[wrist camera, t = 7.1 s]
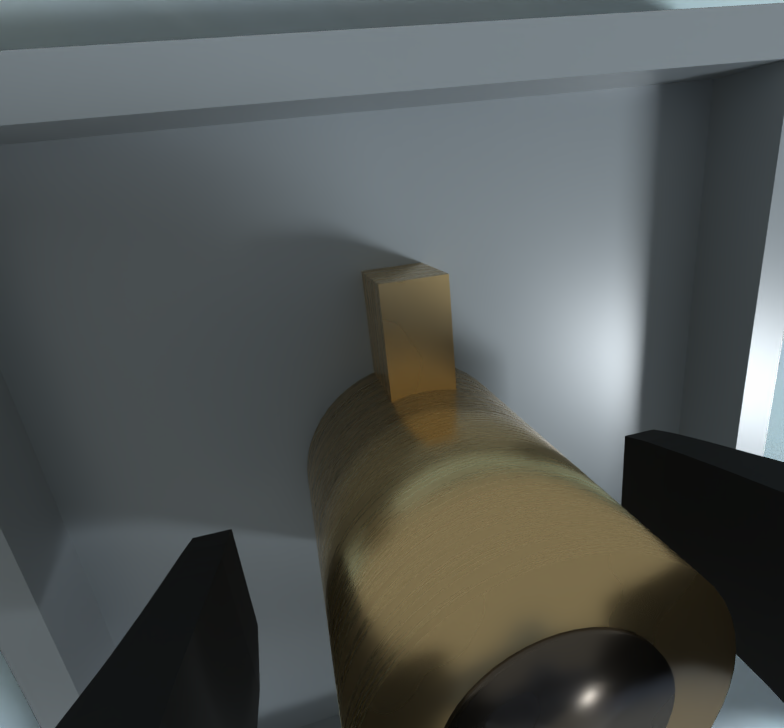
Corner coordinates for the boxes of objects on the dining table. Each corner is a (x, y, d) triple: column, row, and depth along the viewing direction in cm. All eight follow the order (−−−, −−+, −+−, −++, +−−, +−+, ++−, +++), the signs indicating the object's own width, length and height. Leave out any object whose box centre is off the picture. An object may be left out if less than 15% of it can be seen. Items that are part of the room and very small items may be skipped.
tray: (717, 41, 10) (839, -1, 8) (662, 606, 16) (727, 672, 13) (-137, 107, 8) (-305, 69, 5) (147, 766, 13) (122, 883, 11)
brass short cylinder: (509, 521, 12) (717, 801, 6) (324, 567, 11) (378, 936, 6) (502, 250, 10) (810, 318, 4) (270, 284, 9) (270, 421, 3)
